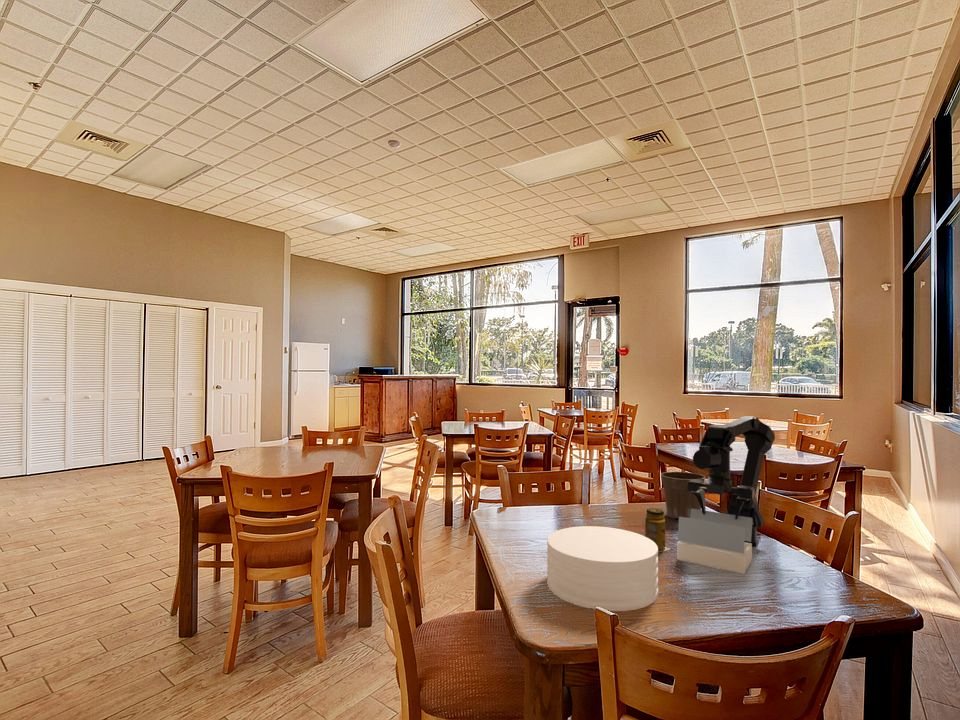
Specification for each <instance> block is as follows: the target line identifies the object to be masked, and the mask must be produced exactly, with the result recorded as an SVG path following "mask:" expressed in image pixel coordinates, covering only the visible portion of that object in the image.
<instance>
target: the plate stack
mask: <svg viewBox="0 0 960 720" xmlns="http://www.w3.org/2000/svg"><path fill="white" fill-rule="evenodd" d="M546 544H547V550H546V551H547V553H546V554H547V559H546V562H547V563H546V565H547V569H546V574H547V577H546V581H547V582H546V584H548V585H547V588H548V587H549V588H548V590H551V591H552V592H553V593H554V594H553V593H552V592H551V591H550V592H551V593H552V594H553V595H554V596H556V595H557V596H558V598H559V597H560V598H559V599H561V600H563V601H565V602H567V603H569V602H570V603H569V604H572V603H573V604H572V605H575V606H578V607H582V608H586V609H590V608H593V609H592V610H595V609H594V607H595V606H601V607H604V608H606V609H608V610H609V611H608V612H625V611H626V612H627V611H634V610H635V611H636V610H640V609H643V608H645V607H648V606H650V605H652V604H654V603H655V602H656V600H657V599H658V597H659V577H658V576H659V567H658V566H659V556H658V555H659V552H658V547H657V545H656V544H655V543H654V542H653V541H652V540H650V539H649V538H647V537H645V535H642V534H639V533H636V532H633V531H630V530H626V529H621V528H614V527H608V526H607V527H606V526H597V525H596V526H592V525H591V526H590V525H589V526H586V525H584V526H582V525H580V526H571V527H565V528H562V529H558V530H555V531H553V532H552V533H550V534H549V535H548V536H547V541H546ZM557 596H556V597H557Z"/></svg>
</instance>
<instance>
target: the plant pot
mask: <svg viewBox="0 0 960 720" xmlns="http://www.w3.org/2000/svg"><path fill="white" fill-rule="evenodd" d="M660 477H661V479H662V485H663V489H664V491H663V492H664V499H665V500H664V501H665V509H666V516H667V517H668V518H671V519H674V520H676V519H678V520H679V517H685V518H690V514H691V509H698V510H701V507H700V504H699V501H698V499H697V497H696V496H695V495H694V494H691V491H687V490H686V485H687V482H689V481H690V480H692V479H693V480H701V481H703V483H704V484H705V480H706V476H705V475H703V474H700V473H696V472H695V473H694V472H688V471H666V472H665V471H664V472H661V473H660Z"/></svg>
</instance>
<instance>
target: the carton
mask: <svg viewBox="0 0 960 720" xmlns="http://www.w3.org/2000/svg"><path fill="white" fill-rule="evenodd" d="M676 560H677V561H681V562H684V563H685V562H686V563H690V564H694V565H698V566H699V565H700V566H704V567H707V568H708V567H709V568H713V569H717V570H718V569H719V570H722V571H727V572H731V573H736V574H741V575H745V574H746V572H747V570H748V569H749V567H750V565H751V563H752V562H753V546H752V544H751V543H746V542H744V553H738V552H733V551H728V550H723V549H718V548H712V547H707V546H702V545H697V544H692V543H686V542H681V541H677V543H676Z"/></svg>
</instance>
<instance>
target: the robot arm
mask: <svg viewBox="0 0 960 720" xmlns="http://www.w3.org/2000/svg"><path fill="white" fill-rule="evenodd" d="M740 435H742V436H743V437H744V443H745V446H746V449H747V452H746V453H747V454H746V457H745V462H744V467H743V472H742V476H741V480H740V481H741V482H740V485H739V486H738V487H733V482H732V479H731V452H733V451H734V449H733V447H732V446H731V445H732V444H733V443H734V442H735V441H736V437H738V436H740ZM775 437H776V436H775V432H774V431H773V430H772V429H771V427H770V426H769V425H767V424H766V423H764V422H762V421H761V420H760V419H759V418H758V417H756V416H751V415H750V416H747V415H742V416H741V417H739V418H738V419H735V420H733V421H731V422H728V423H726V424H711V425H709V426H708V427H707V428H706V429H705V433H704V434H703V437H702V440H701V442H700V444H699V446H698V450H696V451H695V452H694V454H693V456H692V462H693V465H694V466H695V467H696V468H697V469H699V470H706V469H708V470H709V471H708V472H709V473H708V474H709V475H708V477H707V480H706V482H704V483H703V481H701V480H693V479H692V480H690V481H689V482H687V485H686V490H687V491H691V494H694V495H695V496H696V497H697V499H698V501H699V504H700V507H701V510H702V512H703V514H704V515H705V511H707V510H706V493H707V494H715V495H719V496H721V495H725V493H726V494H731V495H730V499H729V503H728V506H727V512H728V513H727V514H730V515H735V519H736V520H737V518H738V516H743V517H750V518H752V534H751V542H749V541H744V542H746V543H751V544H752V547H757V546H758V544H759V543H760V540H759V539H757V528H762V527H763V526H764V521H765V519H764V518H763V515H762V514H761V513H760V511H759V508H760V507H759V506H760V505H759V503H758V502H759V501H758V499H757V498H756V494H757V489H758V484H759V480H760V475H761V470H762V466H763V462H764V457H765V455H766V454H767V453H768V452H769V451H770V450H771V449H772V447H773V443H774V442H775V439H776V438H775Z"/></svg>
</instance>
